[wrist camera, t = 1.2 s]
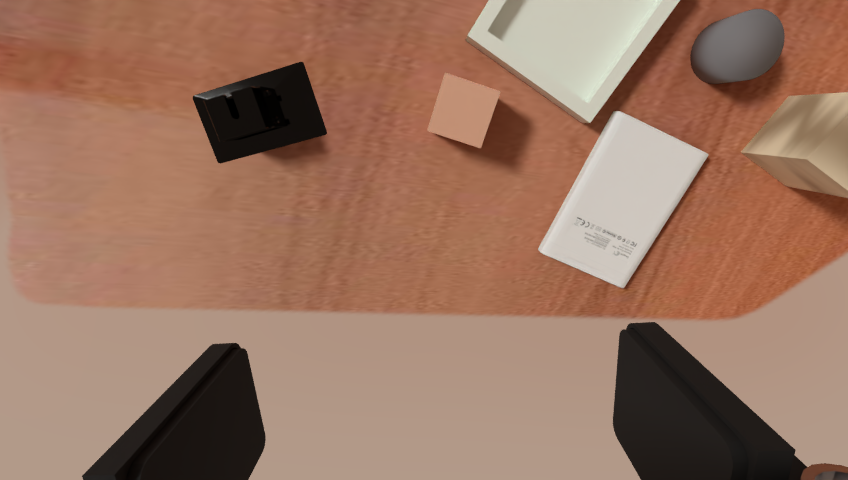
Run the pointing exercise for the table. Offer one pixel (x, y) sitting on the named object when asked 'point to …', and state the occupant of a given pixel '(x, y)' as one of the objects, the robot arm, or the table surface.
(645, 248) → the external hard drive
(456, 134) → the terracotta cube
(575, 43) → the tray
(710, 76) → the grey rounded lump
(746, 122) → the table surface
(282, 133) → the black boxy piece
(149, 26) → the table surface
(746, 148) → the beech block
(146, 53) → the table surface
